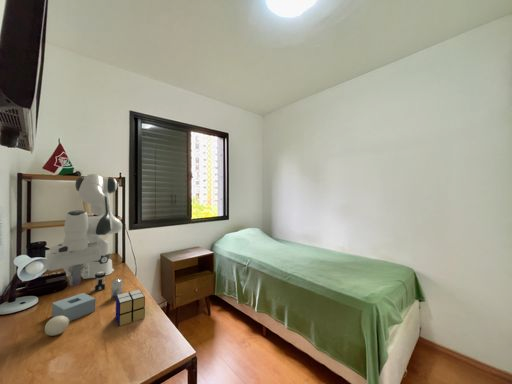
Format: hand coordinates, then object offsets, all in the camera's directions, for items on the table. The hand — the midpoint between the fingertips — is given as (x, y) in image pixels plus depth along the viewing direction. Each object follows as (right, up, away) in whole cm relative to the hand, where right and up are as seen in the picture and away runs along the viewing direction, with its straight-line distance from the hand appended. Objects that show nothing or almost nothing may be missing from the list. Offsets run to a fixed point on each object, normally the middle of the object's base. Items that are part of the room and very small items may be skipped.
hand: (75, 274), depth 100 cm
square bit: (0, -5, 0) cm, 5 cm away
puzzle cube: (+28, -19, -3) cm, 34 cm away
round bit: (+9, -19, +16) cm, 26 cm away
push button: (-8, -19, +25) cm, 33 cm away
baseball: (+6, -18, -15) cm, 24 cm away
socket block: (0, -18, 0) cm, 18 cm away
